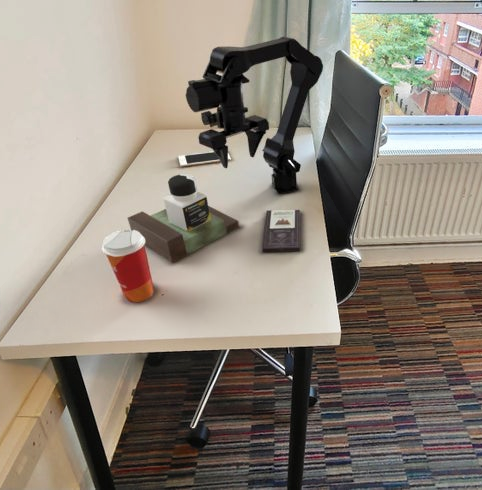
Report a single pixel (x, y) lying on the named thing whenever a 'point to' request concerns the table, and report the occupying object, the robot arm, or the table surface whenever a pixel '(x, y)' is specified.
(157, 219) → the step shelf
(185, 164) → the cell phone
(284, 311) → the table surface
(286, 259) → the table surface
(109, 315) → the table surface
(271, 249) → the chocolate bar
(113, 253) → the paper cup
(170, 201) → the medicine bottle
